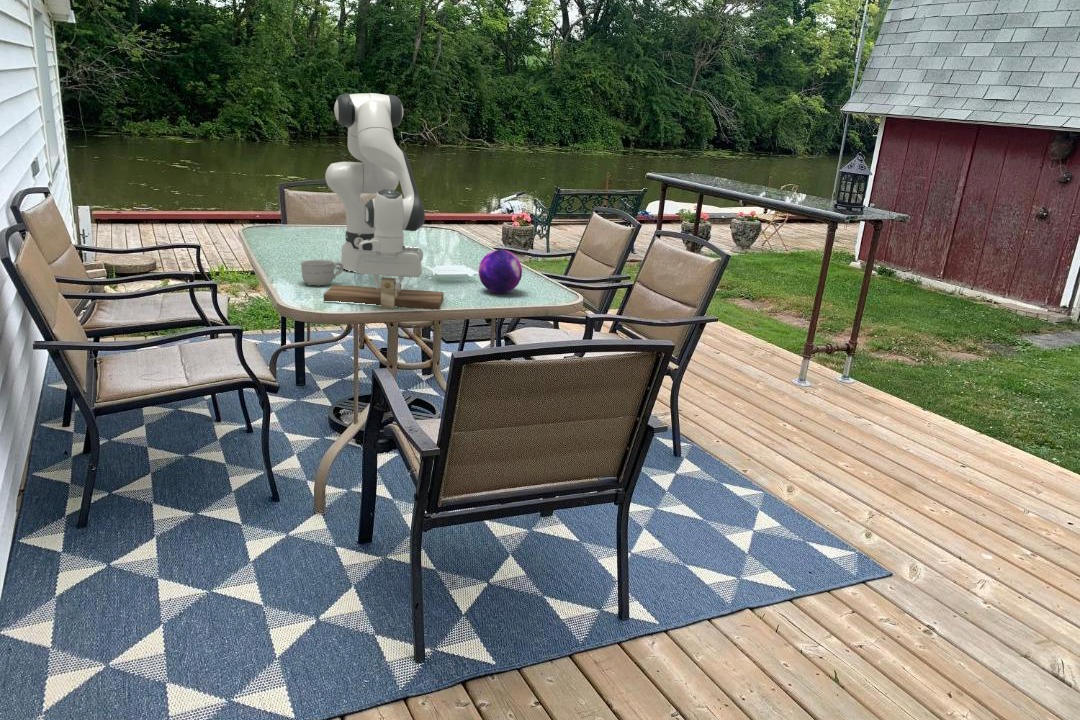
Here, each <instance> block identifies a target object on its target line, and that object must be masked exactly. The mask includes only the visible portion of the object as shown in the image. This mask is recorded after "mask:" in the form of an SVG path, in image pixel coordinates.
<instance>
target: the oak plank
mask: <svg viewBox="0 0 1080 720" xmlns="http://www.w3.org/2000/svg"><path fill="white" fill-rule="evenodd" d="M444 295H445V293H444V291H433V290H421V289H420V290H419V289H405V288H404V289H403V288H401V291H400V293H399V294H398V296H397V297H396V299H395V306H397V307H396V308H403V307H405V308H406V307H407V308H406V309H418V308H419V309H420V308H421V309H422V308H423V310H434V309H437V310H438V309H439V310H440V308H441V306H442V304H443V302H444V299H445V298H444V297H445V296H444ZM324 301H339V302H340V301H341V302H354V303H365V304H376V305H381V289H377V287H373V286H357V285H356V286H355V285H345V284H344V285H342V284H333V285H332V286H331V287H330V288H329V289H328V290H327V291H325V293H324V294H323V302H324ZM421 309H420V310H421ZM439 310H438V311H439Z"/></svg>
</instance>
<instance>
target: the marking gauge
mask: <svg viewBox="0 0 1080 720" xmlns="http://www.w3.org/2000/svg"><path fill="white" fill-rule="evenodd" d="M396 280H397V278H396V277H382V278H381V279H380V283H381V306H380V309H392V310H394V309H395V308H396V307H395V299H396V297H397V296H398V294H399V293H400V291H401V289H402V283H401V284H400V290H394V288H395V287H394V285H395V284H398V282H397V281H396Z"/></svg>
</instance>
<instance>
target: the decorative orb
mask: <svg viewBox="0 0 1080 720" xmlns="http://www.w3.org/2000/svg"><path fill="white" fill-rule="evenodd" d="M522 268H523V267H522V264H521V262H520V259H519V258H518V256H516V255H515V254H514V253H513V252H511V251H509V250H506V249H495V250H492V251H489V252H488V253H487V254H486V255H484V257H483V258H482V259H481V261H480V262H479V266H478V277H479V280H480V282H481V284H482V285H483V287H484V288H486V290H488V291H490V292H493V293H496V294H505V293H509V292H510V291H512V290H514V289H515V288H516V287H517V286H518V285H519V284H520V281H521V280H522V276H523V275H522V274H523V269H522Z"/></svg>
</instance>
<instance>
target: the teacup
mask: <svg viewBox="0 0 1080 720" xmlns="http://www.w3.org/2000/svg"><path fill="white" fill-rule="evenodd" d="M300 264H301V277H302V280H303V281H304V282H305V283H306V284H307V285H308V284H310V285H309V286H311V285H318V286H317V287H321V286H320V285H325V286H328V285H329V284H330V283H331V282H332V281H333V280H335V278H336V277H337V276H339V275H341V273H342V272H343V271H344V270H343V264H342V263H341V261H333V260H328V259H309V260H303V261H301V262H300ZM337 265H340V268H339V270H338V271H337V272H334V271H335V267H337ZM327 284H328V285H327Z"/></svg>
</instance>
